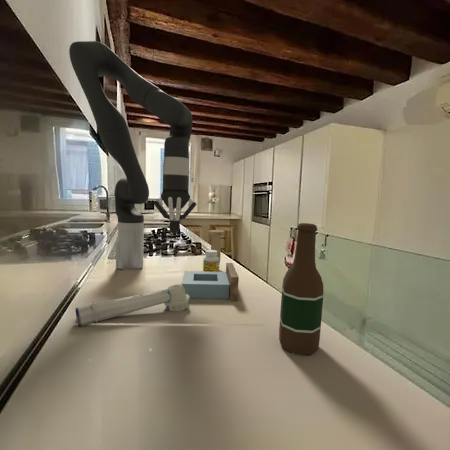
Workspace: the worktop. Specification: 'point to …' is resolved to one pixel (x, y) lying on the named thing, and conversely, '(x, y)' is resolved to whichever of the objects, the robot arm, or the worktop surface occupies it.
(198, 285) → the socket block
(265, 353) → the worktop surface
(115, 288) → the worktop surface
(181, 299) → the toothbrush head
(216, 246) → the handle
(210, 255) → the supplement bottle
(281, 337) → the beer bottle
